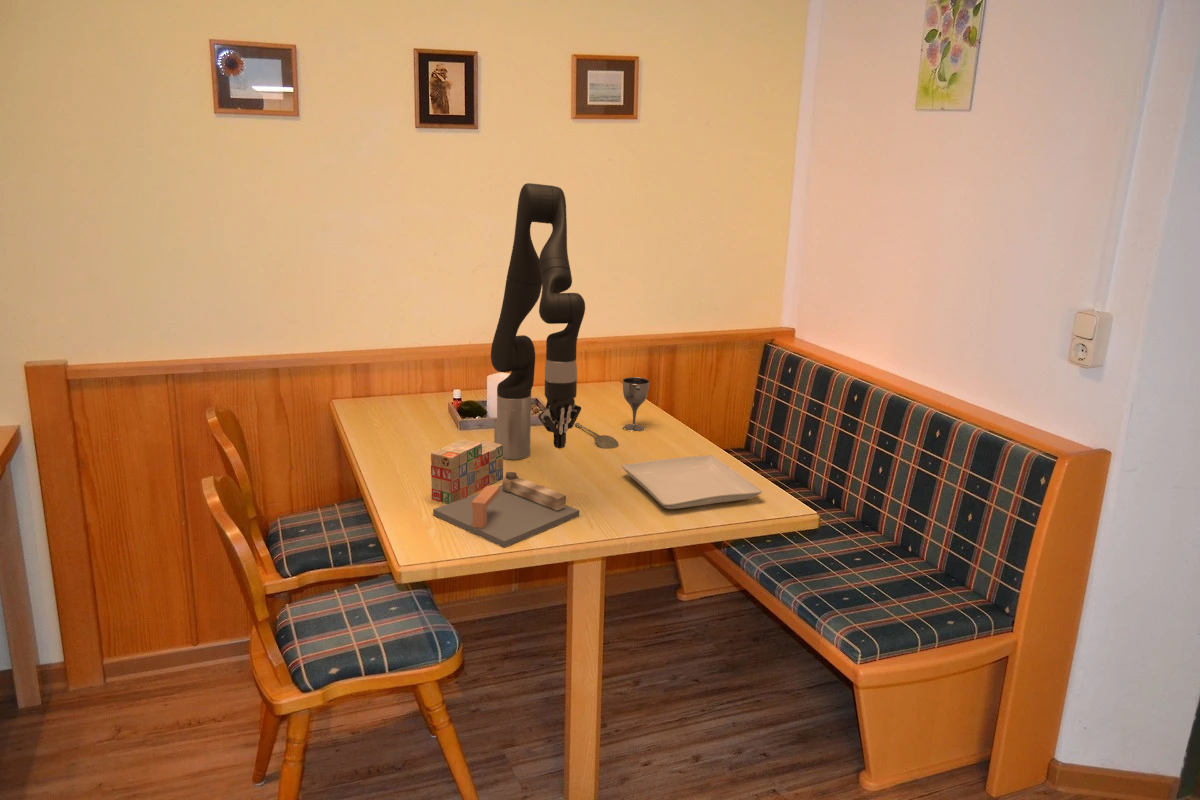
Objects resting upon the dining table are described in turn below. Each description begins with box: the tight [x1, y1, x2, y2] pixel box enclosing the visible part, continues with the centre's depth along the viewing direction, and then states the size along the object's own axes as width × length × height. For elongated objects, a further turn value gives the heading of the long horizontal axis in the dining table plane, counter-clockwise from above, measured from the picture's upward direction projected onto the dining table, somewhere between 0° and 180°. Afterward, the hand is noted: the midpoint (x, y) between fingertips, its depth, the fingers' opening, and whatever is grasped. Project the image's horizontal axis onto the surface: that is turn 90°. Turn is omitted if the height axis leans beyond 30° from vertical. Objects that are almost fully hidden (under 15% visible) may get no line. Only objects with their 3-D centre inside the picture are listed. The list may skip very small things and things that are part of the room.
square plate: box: [621, 454, 763, 510], centre depth 236 cm, size 27×27×4 cm
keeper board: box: [432, 484, 580, 548], centre depth 215 cm, size 24×24×8 cm
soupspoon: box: [574, 422, 620, 450], centre depth 272 cm, size 22×3×7 cm
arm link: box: [502, 471, 567, 510], centre depth 221 cm, size 19×4×4 cm, turn 49°
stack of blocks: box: [430, 438, 504, 505], centre depth 229 cm, size 21×6×12 cm, turn 151°
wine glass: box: [622, 376, 650, 432], centre depth 280 cm, size 8×8×15 cm
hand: (559, 447), depth 221 cm, fingers closed
